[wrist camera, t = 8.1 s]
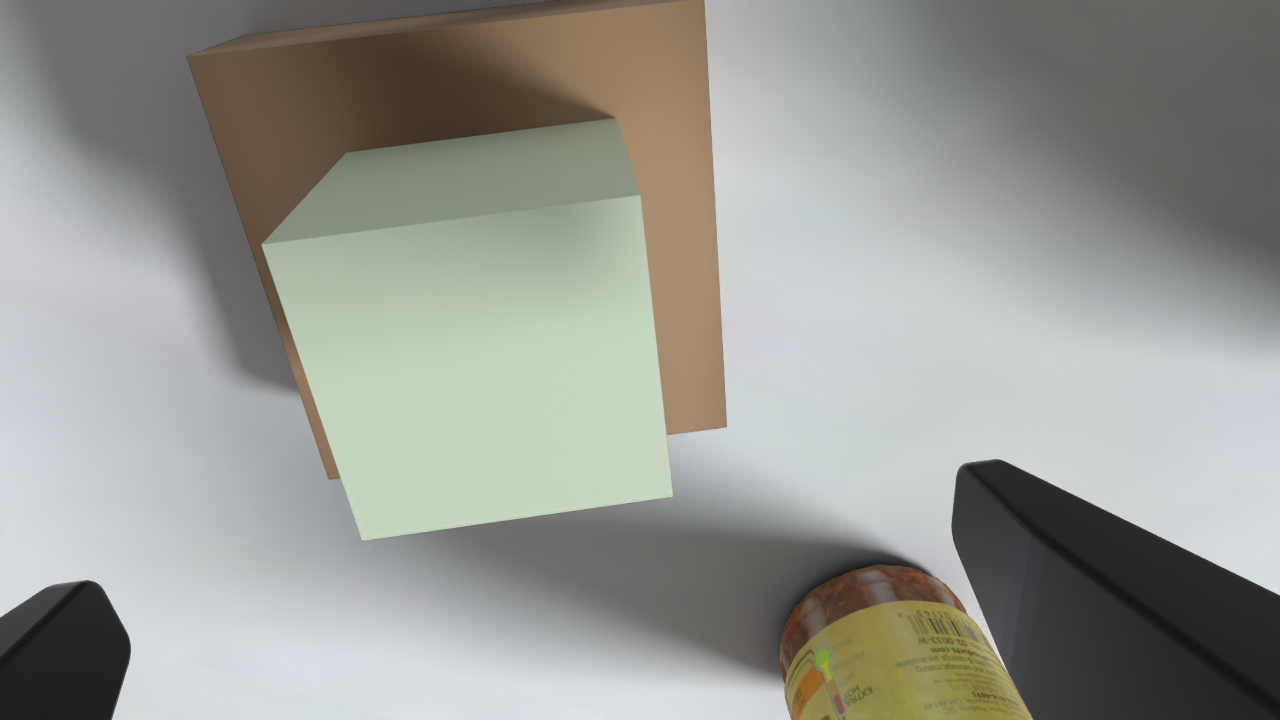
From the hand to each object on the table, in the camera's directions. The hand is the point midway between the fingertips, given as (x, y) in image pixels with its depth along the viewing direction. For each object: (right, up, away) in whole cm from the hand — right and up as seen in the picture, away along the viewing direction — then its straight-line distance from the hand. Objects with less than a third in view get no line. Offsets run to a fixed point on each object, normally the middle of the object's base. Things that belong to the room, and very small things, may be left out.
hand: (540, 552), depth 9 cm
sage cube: (-2, +4, +8) cm, 9 cm away
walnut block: (-2, +5, +11) cm, 12 cm away
